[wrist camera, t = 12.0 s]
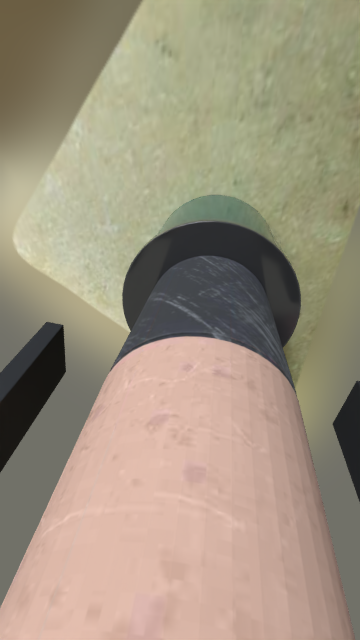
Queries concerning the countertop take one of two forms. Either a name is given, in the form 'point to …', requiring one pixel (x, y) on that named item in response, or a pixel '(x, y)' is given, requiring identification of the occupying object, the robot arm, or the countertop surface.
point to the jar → (216, 240)
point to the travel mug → (187, 487)
